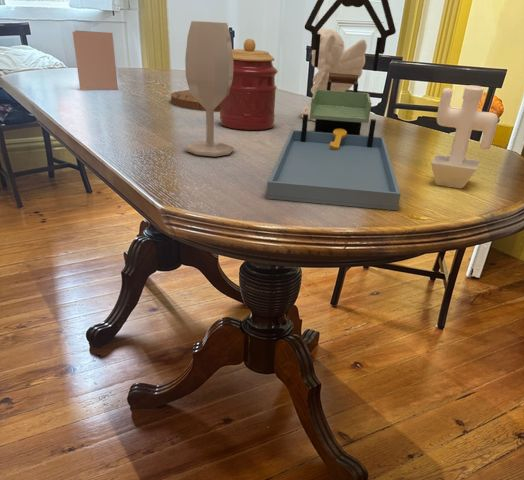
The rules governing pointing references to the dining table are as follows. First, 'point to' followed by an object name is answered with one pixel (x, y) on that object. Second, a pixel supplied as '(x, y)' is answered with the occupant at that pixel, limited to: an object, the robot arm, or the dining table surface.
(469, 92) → the figurine
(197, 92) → the wineglass
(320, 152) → the tray
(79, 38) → the greeting card
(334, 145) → the key
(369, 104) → the green dustpan
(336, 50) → the cherub figurine
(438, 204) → the dining table surface
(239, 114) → the kitchen canister
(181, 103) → the trivet
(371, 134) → the stand
